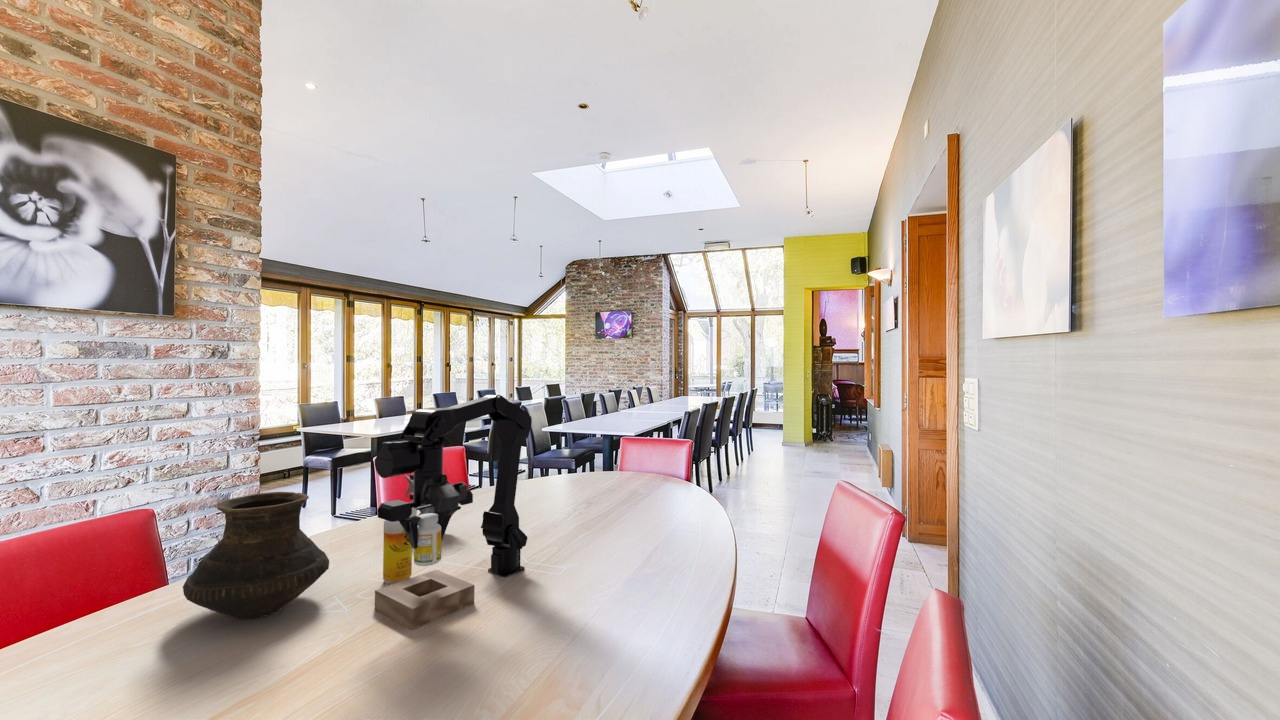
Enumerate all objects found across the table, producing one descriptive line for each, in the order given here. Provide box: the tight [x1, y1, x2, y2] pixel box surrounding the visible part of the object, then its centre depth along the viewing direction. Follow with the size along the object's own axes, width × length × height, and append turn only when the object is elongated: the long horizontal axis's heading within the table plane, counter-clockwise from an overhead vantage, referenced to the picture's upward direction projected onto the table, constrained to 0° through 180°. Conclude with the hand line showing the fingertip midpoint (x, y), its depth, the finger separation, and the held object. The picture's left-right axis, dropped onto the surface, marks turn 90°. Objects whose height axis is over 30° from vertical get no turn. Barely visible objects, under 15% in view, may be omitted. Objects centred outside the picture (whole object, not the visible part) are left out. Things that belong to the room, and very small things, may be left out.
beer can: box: [382, 520, 413, 585], centre depth 125 cm, size 6×6×15 cm
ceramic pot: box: [182, 491, 330, 620], centre depth 109 cm, size 24×24×22 cm
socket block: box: [374, 569, 475, 631], centre depth 111 cm, size 14×14×4 cm
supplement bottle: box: [413, 513, 442, 567], centre depth 111 cm, size 5×5×10 cm
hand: (427, 544), depth 111 cm, fingers closed on supplement bottle, 5 cm apart
